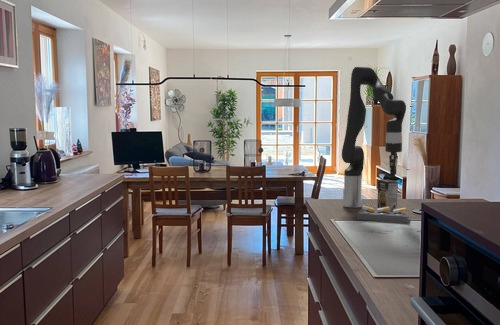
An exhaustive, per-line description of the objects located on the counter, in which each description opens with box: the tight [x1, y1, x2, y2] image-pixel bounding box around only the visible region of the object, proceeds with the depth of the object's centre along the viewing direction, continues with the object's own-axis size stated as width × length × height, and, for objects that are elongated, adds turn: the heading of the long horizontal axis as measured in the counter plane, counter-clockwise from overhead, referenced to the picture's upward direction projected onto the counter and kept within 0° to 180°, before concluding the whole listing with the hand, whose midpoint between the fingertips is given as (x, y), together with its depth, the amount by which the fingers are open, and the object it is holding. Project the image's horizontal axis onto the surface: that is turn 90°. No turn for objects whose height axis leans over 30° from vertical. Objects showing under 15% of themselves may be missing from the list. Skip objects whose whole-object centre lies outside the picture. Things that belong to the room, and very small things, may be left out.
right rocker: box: [393, 207, 407, 213], centre depth 227 cm, size 6×4×2 cm, turn 69°
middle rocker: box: [376, 207, 390, 212], centre depth 230 cm, size 6×4×2 cm, turn 69°
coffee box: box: [377, 179, 399, 212], centre depth 247 cm, size 9×6×16 cm
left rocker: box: [361, 204, 375, 212], centre depth 233 cm, size 6×4×2 cm, turn 69°
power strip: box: [356, 209, 410, 224], centre depth 228 cm, size 23×9×3 cm, turn 69°
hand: (393, 175), depth 229 cm, fingers open, 8 cm apart
